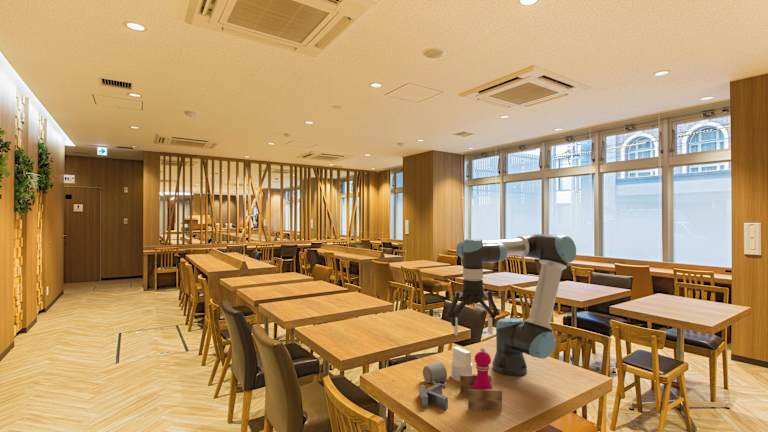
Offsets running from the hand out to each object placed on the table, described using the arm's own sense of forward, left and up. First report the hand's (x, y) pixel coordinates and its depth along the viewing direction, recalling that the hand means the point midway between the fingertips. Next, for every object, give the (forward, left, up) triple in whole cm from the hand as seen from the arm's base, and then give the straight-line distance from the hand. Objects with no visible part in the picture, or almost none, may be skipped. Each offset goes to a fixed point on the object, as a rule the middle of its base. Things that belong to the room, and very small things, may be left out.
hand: (472, 334), depth 153 cm
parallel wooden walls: (-2, +2, -25) cm, 25 cm away
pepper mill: (-3, +2, -25) cm, 25 cm away
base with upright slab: (0, -20, -25) cm, 32 cm away
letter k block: (+15, +2, -25) cm, 29 cm away
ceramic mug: (+12, -15, -25) cm, 31 cm away
